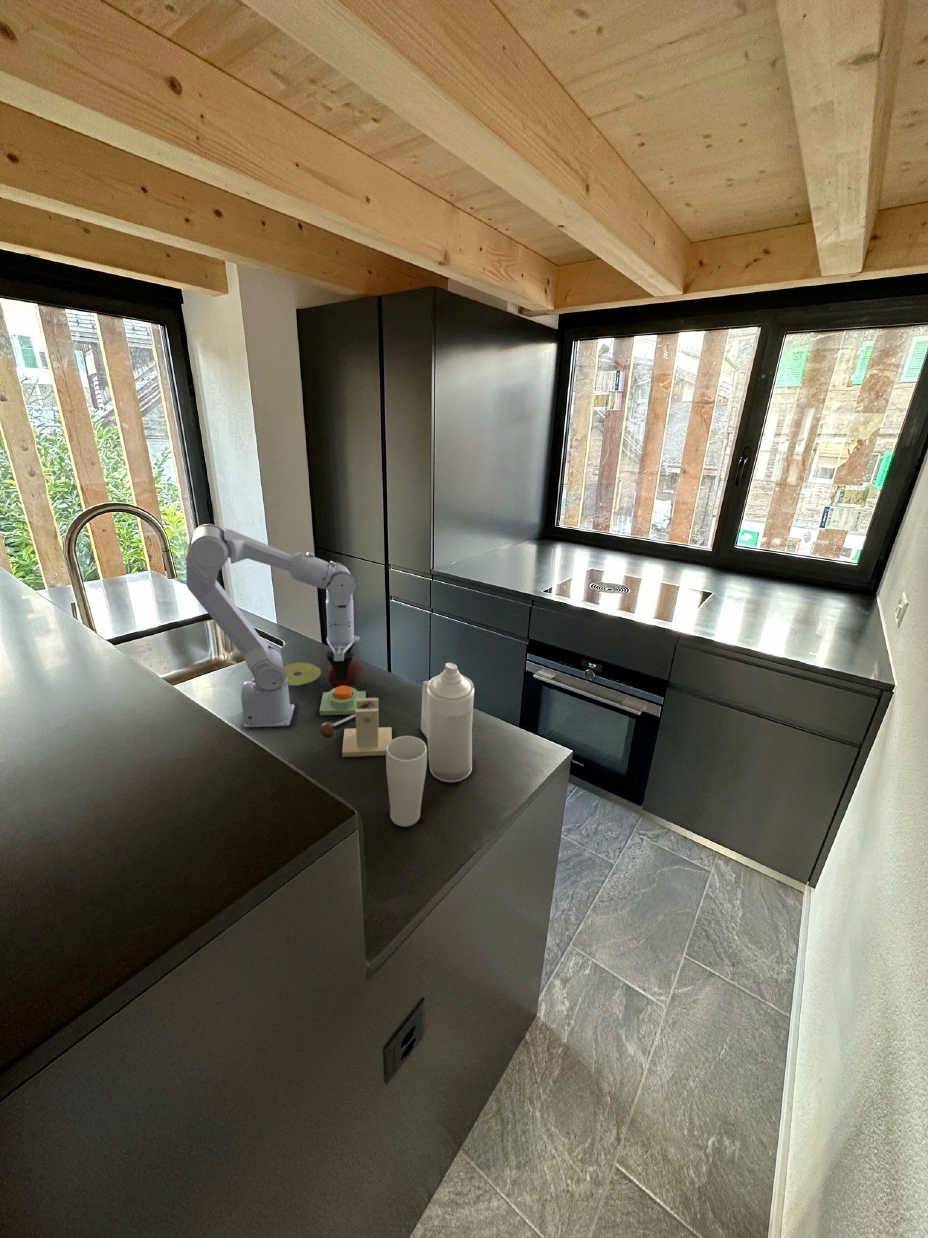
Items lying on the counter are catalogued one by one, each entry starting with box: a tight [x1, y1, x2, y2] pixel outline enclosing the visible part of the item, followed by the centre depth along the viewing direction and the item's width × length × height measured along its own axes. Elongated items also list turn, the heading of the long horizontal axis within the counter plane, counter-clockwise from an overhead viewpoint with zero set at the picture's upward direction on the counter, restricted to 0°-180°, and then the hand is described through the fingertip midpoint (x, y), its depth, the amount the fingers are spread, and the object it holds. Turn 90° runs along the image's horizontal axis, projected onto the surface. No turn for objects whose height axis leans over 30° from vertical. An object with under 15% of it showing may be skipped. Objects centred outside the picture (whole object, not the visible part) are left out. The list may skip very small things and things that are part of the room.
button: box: [334, 686, 352, 700], centre depth 120 cm, size 4×4×2 cm
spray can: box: [426, 662, 475, 783], centre depth 97 cm, size 12×11×25 cm
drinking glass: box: [385, 735, 428, 828], centre depth 88 cm, size 7×7×15 cm
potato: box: [326, 658, 363, 688], centre depth 129 cm, size 7×10×6 cm
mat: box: [283, 662, 322, 686], centre depth 130 cm, size 11×11×2 cm
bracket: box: [341, 697, 393, 758], centre depth 106 cm, size 10×8×10 cm
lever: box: [319, 702, 375, 739], centre depth 105 cm, size 12×3×3 cm, turn 97°
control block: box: [319, 686, 367, 716], centre depth 120 cm, size 10×8×3 cm
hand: (342, 674), depth 118 cm, fingers open, 5 cm apart
